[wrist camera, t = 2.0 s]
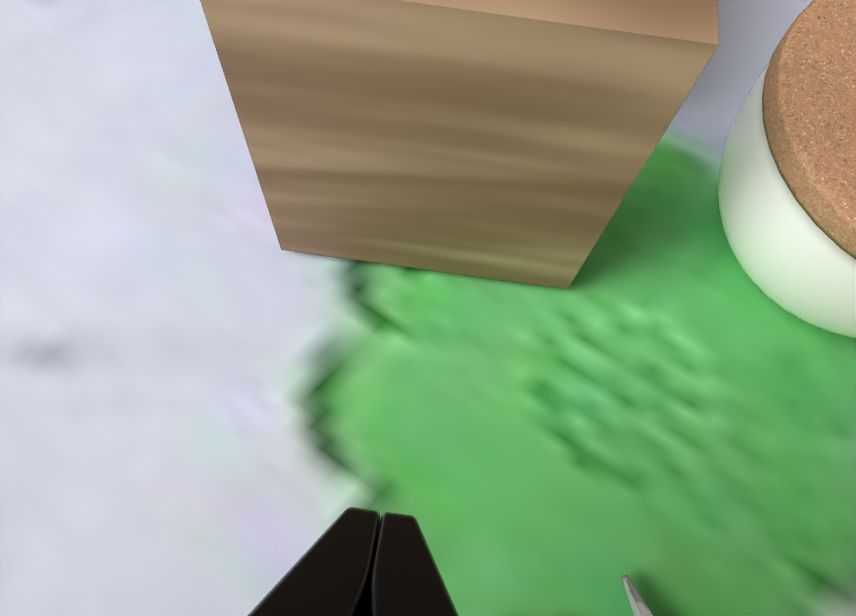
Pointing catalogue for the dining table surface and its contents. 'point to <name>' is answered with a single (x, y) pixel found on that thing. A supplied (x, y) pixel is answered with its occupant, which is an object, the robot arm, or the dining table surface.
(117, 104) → the dining table surface
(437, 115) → the wooden slab
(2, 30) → the dining table surface
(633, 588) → the pliers
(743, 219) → the lidded jar
